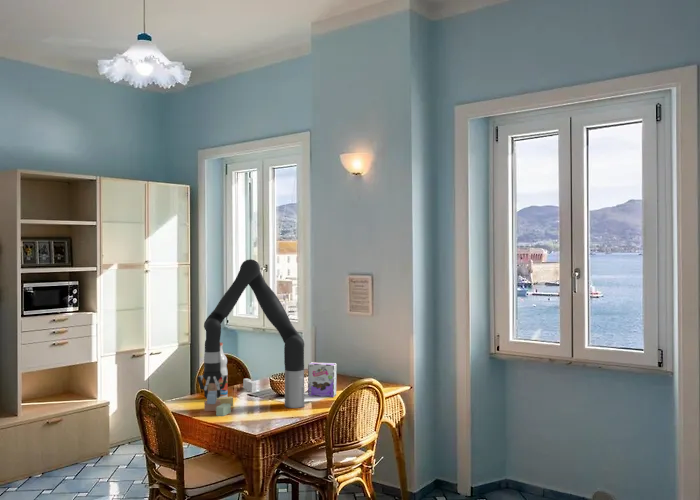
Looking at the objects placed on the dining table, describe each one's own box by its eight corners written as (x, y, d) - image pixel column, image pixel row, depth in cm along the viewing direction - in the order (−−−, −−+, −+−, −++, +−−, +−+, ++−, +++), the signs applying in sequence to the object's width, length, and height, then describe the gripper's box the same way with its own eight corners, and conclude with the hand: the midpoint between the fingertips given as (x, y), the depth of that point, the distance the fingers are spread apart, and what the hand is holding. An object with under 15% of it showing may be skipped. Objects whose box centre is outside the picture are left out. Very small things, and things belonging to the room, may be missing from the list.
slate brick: (209, 399, 290) (209, 390, 290) (216, 399, 290) (216, 390, 290) (207, 404, 283) (207, 395, 282) (215, 404, 283) (215, 395, 283)
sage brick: (223, 411, 284) (223, 403, 284) (230, 412, 283) (230, 403, 283) (216, 415, 277) (216, 407, 277) (223, 416, 276) (223, 407, 276)
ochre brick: (232, 404, 297) (232, 396, 297) (233, 406, 294) (233, 398, 294) (216, 406, 295) (216, 397, 295) (217, 407, 291) (217, 399, 291)
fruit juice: (211, 396, 312) (211, 341, 312) (229, 397, 311) (229, 341, 311) (205, 401, 303) (205, 344, 303) (224, 401, 302) (224, 344, 302)
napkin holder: (258, 393, 321) (258, 382, 321) (236, 393, 321) (236, 382, 321) (262, 387, 336) (262, 376, 336) (241, 387, 336) (242, 376, 336)
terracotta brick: (220, 408, 290) (220, 399, 290) (220, 410, 286) (220, 401, 286) (204, 409, 288) (204, 400, 288) (204, 411, 285) (204, 402, 285)
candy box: (307, 395, 314) (307, 363, 314) (311, 393, 320) (311, 361, 320) (333, 397, 311) (333, 364, 311) (336, 394, 317) (336, 362, 317)
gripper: (228, 359, 291) (228, 395, 291) (198, 359, 290) (198, 396, 290) (227, 362, 284) (227, 399, 284) (195, 362, 283) (195, 400, 283)
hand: (212, 397), depth 287 cm, fingers open, 4 cm apart
